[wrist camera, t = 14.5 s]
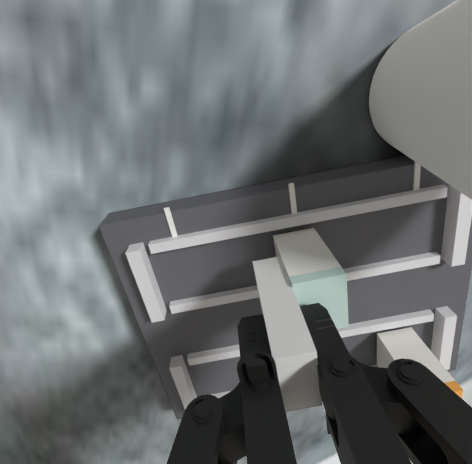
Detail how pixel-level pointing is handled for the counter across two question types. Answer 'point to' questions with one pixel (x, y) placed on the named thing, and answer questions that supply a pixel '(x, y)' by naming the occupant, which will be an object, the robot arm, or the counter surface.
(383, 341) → the fader
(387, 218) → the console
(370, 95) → the cup
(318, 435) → the counter surface
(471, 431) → the robot arm
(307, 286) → the block
